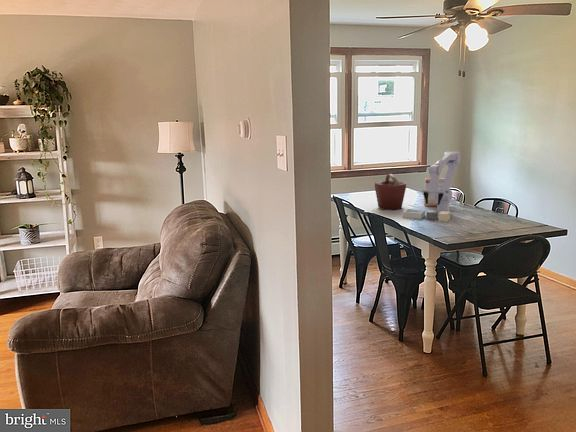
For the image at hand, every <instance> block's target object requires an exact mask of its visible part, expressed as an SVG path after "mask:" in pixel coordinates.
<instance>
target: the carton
mask: <svg viewBox="0 0 576 432" xmlns="http://www.w3.org/2000/svg"><path fill="white" fill-rule="evenodd" d="M450 220H451V211H449V212H448V211H441V212H440V213H439V215H438V221H439V222H449V221H450Z"/></svg>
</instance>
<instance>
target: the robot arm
mask: <svg viewBox="0 0 576 432" xmlns="http://www.w3.org/2000/svg"><path fill="white" fill-rule="evenodd" d="M461 154H462V153H461V152H460V151H448V150H447V151H445V152H444V154H443V157H442V158H441V159H438V160H437V162H436V161H435V163H434V164H431V165H430V166H429V168H428V172H429V174H428V175H429V178H430V186H429V190H424V189H423V188H422V190H421V193H422V194H423V198H424V197H425V201H426V204H428V195H429V193H433V192H436V193H435V199H436V200H437V202H438V204H437V206H436V207H437V208H436V209H437V210H438V216H439V213H440V212H441V211H448V212H450V202H451V201H452V199H453V191H452V190H451V186H452V183H453V182H452V181H453V179H454V176H455V173H456V169H457V166H459V165H460V162H461V159H462V155H461ZM446 166H448V167H447V170H446V173H445V175H444V176H445V177H444V178H445V179H444V182H443V185H442V187H441V188H439V178H440V175H441V173H442V171H443V169H444V168H445V167H446ZM438 188H439V189H438Z"/></svg>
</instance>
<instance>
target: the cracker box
mask: <svg viewBox="0 0 576 432" xmlns="http://www.w3.org/2000/svg"><path fill="white" fill-rule="evenodd" d="M444 179H445V177H439V188H441V187H442V185H443V182H444ZM423 184H424V185H423V186H424V187H423V188H424V190H429V186H430V177H424V182H423ZM439 188H438V189H439ZM435 193H436V192H433V193H429V195H428V204H426V201H425V197H424V196H423V206H424V207H437V204H438V202H437V200H436V199H435Z"/></svg>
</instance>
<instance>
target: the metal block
mask: <svg viewBox="0 0 576 432" xmlns="http://www.w3.org/2000/svg"><path fill="white" fill-rule="evenodd" d="M425 217H426V218H425V219H426V220H430V221H431V220H432V221H436V219H439V215H438V210H436V209H429V210H428V211H426V213H425Z"/></svg>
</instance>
